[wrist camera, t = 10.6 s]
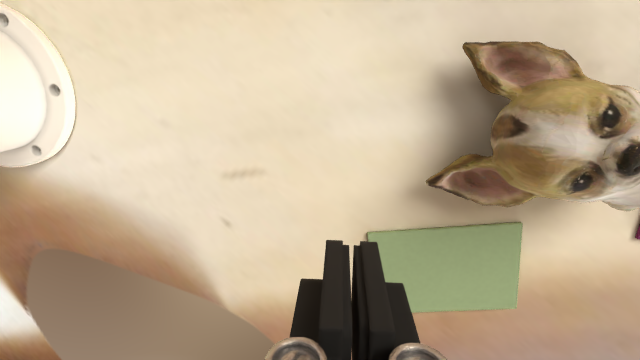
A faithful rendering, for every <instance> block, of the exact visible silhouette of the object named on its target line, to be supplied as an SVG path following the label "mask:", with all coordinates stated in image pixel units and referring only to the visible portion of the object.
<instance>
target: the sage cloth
mask: <svg viewBox="0 0 640 360" xmlns="http://www.w3.org/2000/svg"><path fill="white" fill-rule="evenodd" d="M367 234H368V242H377V243H378V248H379V253H380V258H381V263H382V268H383V273H384V278H385V282H393V283H403V285H404V288H405V291H406V295H407V298H408V302H409V305H410V309H411V312H438V311H465V310H492V309H516V308H517V294H518V280H519V266H520V252H521V238H522V223H521V222H514V223H499V224H484V225H469V226H454V227H439V228H424V229H409V230H394V231H379V232H367Z"/></svg>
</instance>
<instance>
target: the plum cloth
mask: <svg viewBox="0 0 640 360" xmlns="http://www.w3.org/2000/svg"><path fill="white" fill-rule="evenodd" d="M635 238H637V239H640V225H639V228H638V231H637V233H636V236H635Z"/></svg>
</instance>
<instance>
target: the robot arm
mask: <svg viewBox="0 0 640 360" xmlns="http://www.w3.org/2000/svg"><path fill="white" fill-rule="evenodd" d="M75 105H76V101H75V95H74V89H73V84H72V81H71V78H70V75H69V72H68V70H67V68H66V66H65V64H64V62H63V60H62V58H61V56H60V54H59V52H58V51H57V50H56V48H55V47H54V45H53V44H52V43H51V41H50V40H49V38H48V37H47V36H46V35H45V34H44V33H43V32H42V31H41V30H40V29H39V28H38V27H37V26H36V25H35V24H34V23H33V22H31V21H30V20H29V19H27V18H26V17H25V16H24V15H22V14H21V13H19V12H17V11H15V10H14V9H12V8H10V7H8V6H6V5H4V4H1V3H0V166H4V167H25V166H29V165H32V164H36V163H39V162H42V161H44V160H47V159H49V158H51V157H52V156H53V155H55V154H56V153H57V152H59V151H60V150H61V148H62V147H63V146H64V145H65V143H66V142H67V140H68V138H69V136H70V134H71V132H72V129H73V125H74V120H75ZM351 350H352V360H447V359H446V357H445V356H443V355H442V354H441V353H440V352H439V351H437V350H435V349H433V348H432V347H430V346H427V345H423V344H420V341H419V337H418V334H417V330H416V326H415V323H414V319H413V316H412V312H411V309H410V305H409V302H408V298H407V295H406V291H405V288H404V285H403V283H393V282H385V278H384V273H383V268H382V263H381V258H380V253H379V248H378V243H377V242H365V241H360V246H356V245H354V253H353V276H352V299H351V284H350V259H349V245H343V241H337V240H326V250H325V262H324V273H323V280H321V279H301V281H300V286H299V291H298V296H297V302H296V307H295V312H294V317H293V322H292V328H291V333H290V338H286V339H284V340H282V341H280V342H278V343H276V344H275V345H274V346H273V347H272V348H271V349H270V350H269V352H268V353H267V355H266V357H265V359H264V360H351Z"/></svg>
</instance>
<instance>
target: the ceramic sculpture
mask: <svg viewBox="0 0 640 360" xmlns="http://www.w3.org/2000/svg"><path fill="white" fill-rule="evenodd" d="M463 49H464V52H465V53H466V55H467V56H468V58H469V59H470V60H471V62H472V64H473V67H474V69H475V71H476V73H477V75H478V78H479V80H480V82H481V84H482V86H483V87H484V88H485V89H487V90H488V91H489V92H492V93H495V94H499V95H502V96H504V97H507V98H508V99H510V100H511V101H510V103H509V104H508V105H506V106H505V107H504V108H503V109H502V110H501V111H500V112H499V114H498V116H497V118H496V119H495V121H494V123H493V125H492V130H491V141H490V143H491V146H492V149H493V156H489V157H486V156H481V155H477V154H469V155H465V156H462V157H460V158H459V159H457V160H456V161H455V162H453V163H452V164H450V165H449V166H448V167H446V168H445V169H443V170H442V171H441V172H439V173H437V174H436V175H434V176H432V177H430V178H429V179H428V180H426V185H428V186H431V187H435V188H439V189H443V190H445V191H447V192H450V193H453V194H455V195H457V196H460V197H463V198H465V199H470V200H472V201H474V202H476V203H479V204H481V205H486V206H488V205H499V206H504V207H511V206H515V205H519V204H523V203H525V202H527V201H529V200H531V199H533V198H536V197H546V198H553V199H561V200H566V201H571V202H578V203H587V202H592V201H602V202H604V203H606V204H608V205H609V206H611V207H612V208H615V209H618V210H622V211H631V210H635V209H640V92H637V91H636V90H635V89H634V88H632V87H629V86H619V85H608V84H605V83H601V82H599V81H596V80H592V79H590V78H588V77H587V76H585V75H584V74H583V72H582V70H581V68H580V67H579V65H578V63H577V62H576V61H575V60H574V59H573V58H572V57H571V56H570V55H569V54H568V53H567V52H566V51H564V50H557V49H553V48H550V47H547V46H546V45H544V44H542V43H540V42H487V43H477V42H475V43H464V44H463Z"/></svg>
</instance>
